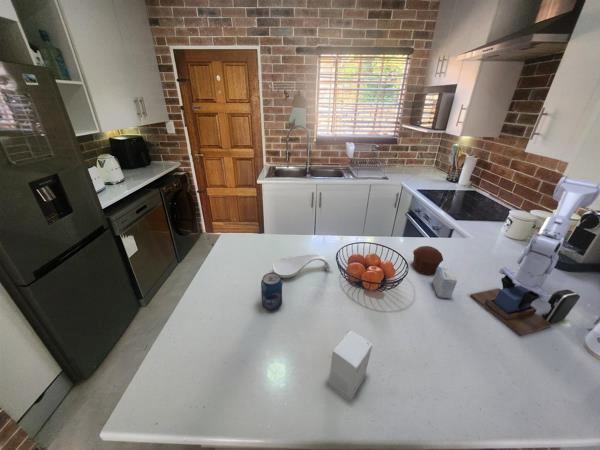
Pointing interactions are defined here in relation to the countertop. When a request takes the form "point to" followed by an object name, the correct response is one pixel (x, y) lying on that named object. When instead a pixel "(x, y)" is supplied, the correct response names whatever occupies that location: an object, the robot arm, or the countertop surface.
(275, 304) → the soda can
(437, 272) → the medicine box
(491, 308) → the mounting pad
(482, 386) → the countertop surface
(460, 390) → the countertop surface
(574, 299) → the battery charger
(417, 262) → the muffin
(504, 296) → the blue block
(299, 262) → the spoon rest
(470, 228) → the countertop surface
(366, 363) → the small box
